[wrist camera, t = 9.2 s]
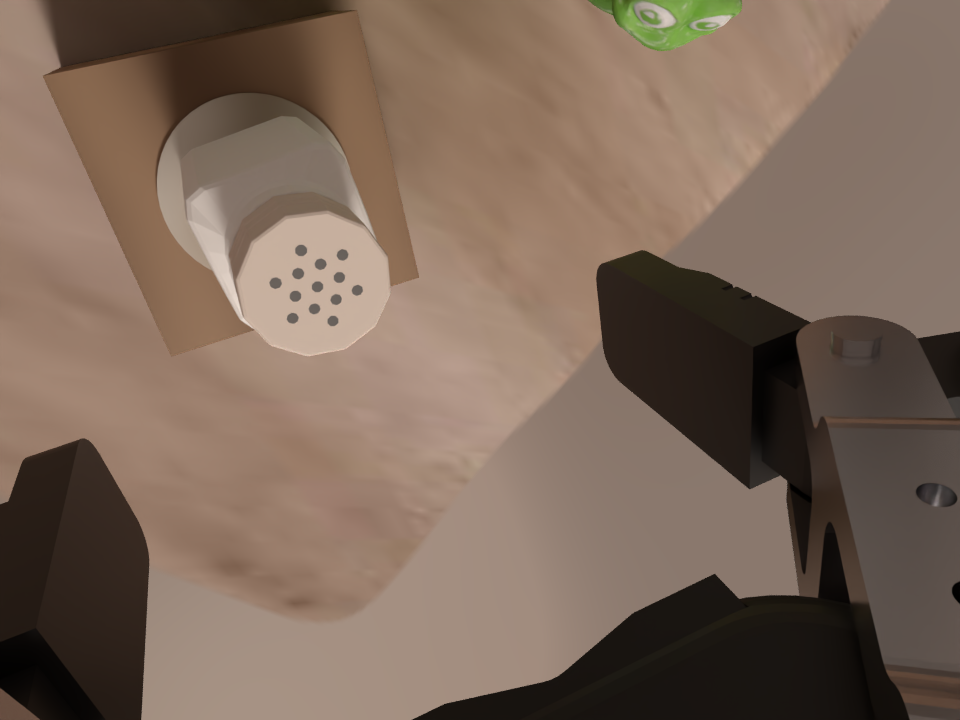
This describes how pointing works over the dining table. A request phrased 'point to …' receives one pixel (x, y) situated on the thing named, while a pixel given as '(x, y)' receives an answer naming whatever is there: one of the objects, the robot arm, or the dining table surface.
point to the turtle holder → (669, 19)
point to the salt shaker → (287, 235)
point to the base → (208, 117)
